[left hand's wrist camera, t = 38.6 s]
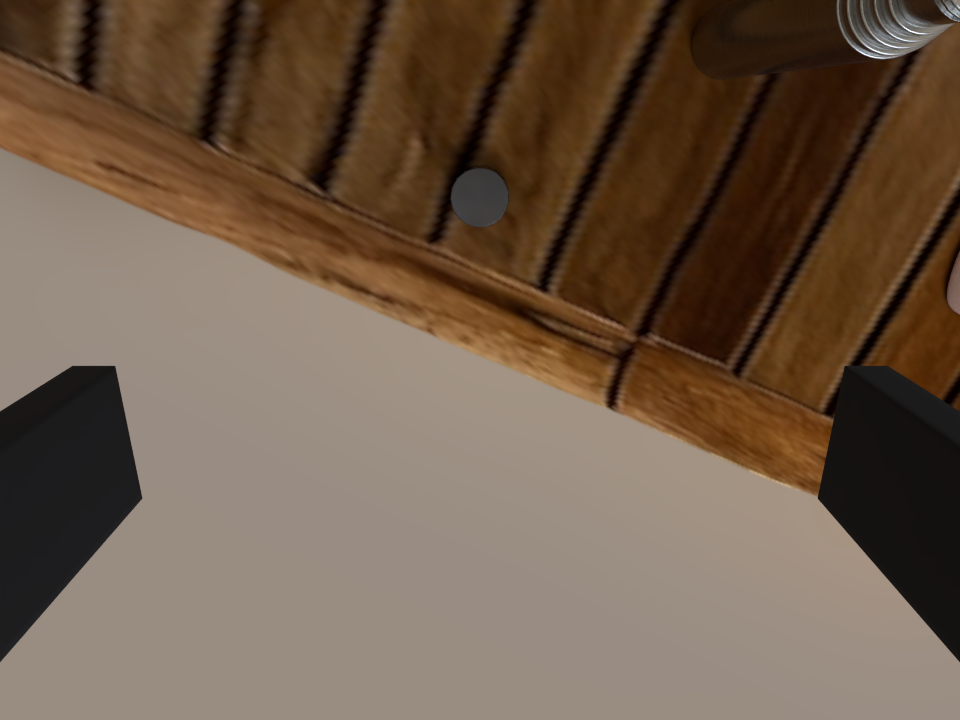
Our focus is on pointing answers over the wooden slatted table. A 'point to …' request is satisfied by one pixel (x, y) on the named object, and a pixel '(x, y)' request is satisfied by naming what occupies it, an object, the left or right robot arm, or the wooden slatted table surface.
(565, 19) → the wooden slatted table surface
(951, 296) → the anatomical model
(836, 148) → the wooden slatted table surface
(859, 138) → the wooden slatted table surface
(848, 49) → the bottle
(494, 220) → the cap
